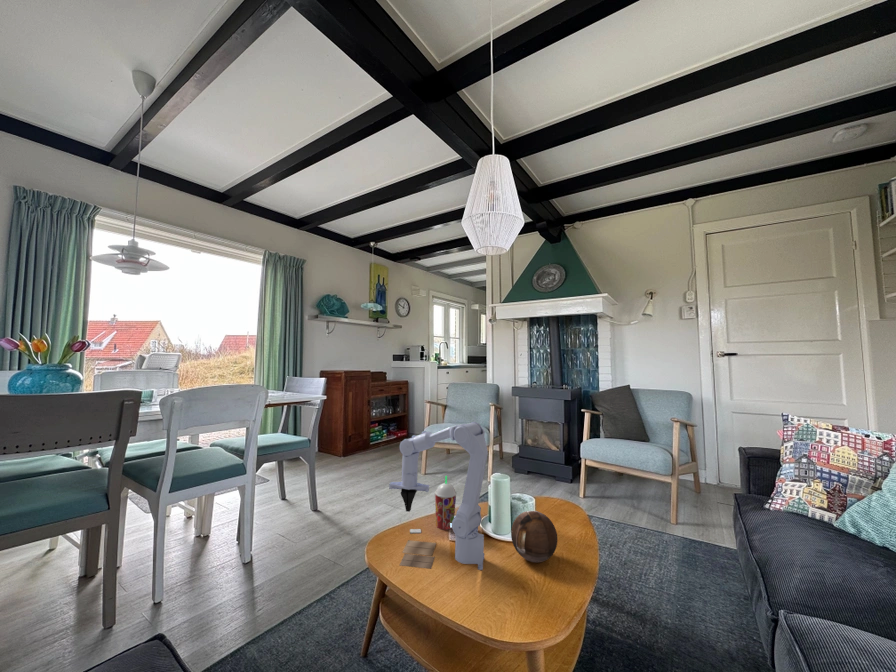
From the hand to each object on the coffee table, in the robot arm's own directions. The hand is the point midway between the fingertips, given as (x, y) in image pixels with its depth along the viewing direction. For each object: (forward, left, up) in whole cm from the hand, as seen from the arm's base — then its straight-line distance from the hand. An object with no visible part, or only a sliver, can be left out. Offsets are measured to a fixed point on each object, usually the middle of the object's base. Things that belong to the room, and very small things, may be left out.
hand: (408, 510), depth 128 cm
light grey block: (-2, -4, -11) cm, 12 cm away
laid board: (-7, +15, -10) cm, 19 cm away
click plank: (-6, +7, -10) cm, 14 cm away
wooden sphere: (-44, +4, -11) cm, 45 cm away
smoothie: (-12, -11, -11) cm, 19 cm away
